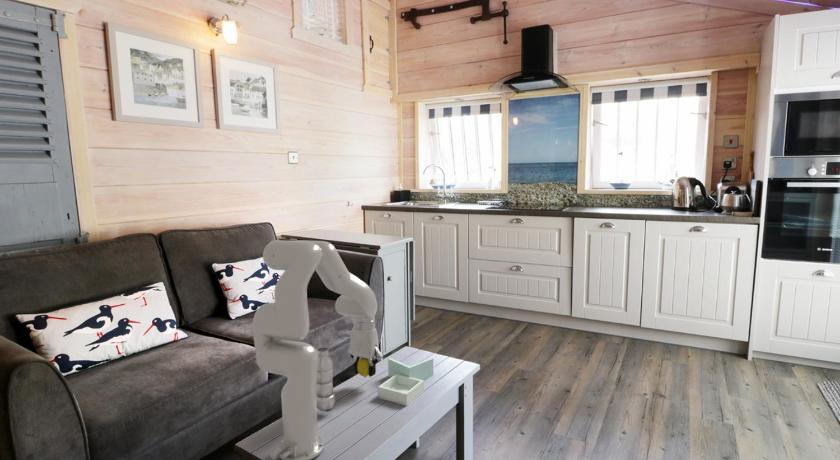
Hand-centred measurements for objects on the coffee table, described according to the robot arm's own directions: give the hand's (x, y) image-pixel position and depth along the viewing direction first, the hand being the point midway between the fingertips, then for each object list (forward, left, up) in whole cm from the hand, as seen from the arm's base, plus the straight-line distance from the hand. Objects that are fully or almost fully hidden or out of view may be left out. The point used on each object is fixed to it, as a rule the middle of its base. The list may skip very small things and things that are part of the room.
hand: (365, 373), depth 163 cm
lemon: (0, 0, -2) cm, 2 cm away
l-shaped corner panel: (+14, -11, -5) cm, 19 cm away
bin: (+1, -15, -5) cm, 16 cm away
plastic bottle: (-19, +2, -5) cm, 20 cm away
